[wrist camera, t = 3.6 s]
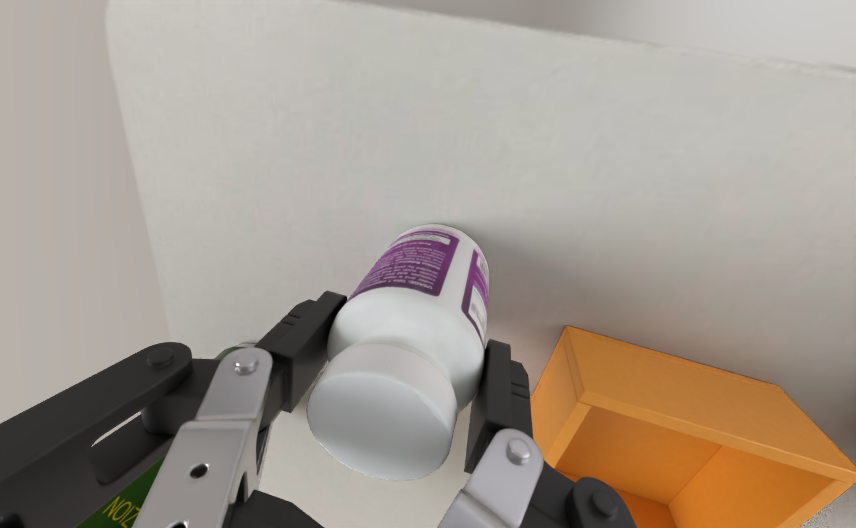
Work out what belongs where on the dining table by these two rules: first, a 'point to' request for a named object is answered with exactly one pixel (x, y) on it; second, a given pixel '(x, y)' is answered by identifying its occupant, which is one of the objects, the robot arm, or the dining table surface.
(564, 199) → the dining table surface
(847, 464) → the amber bin
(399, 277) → the pill bottle
